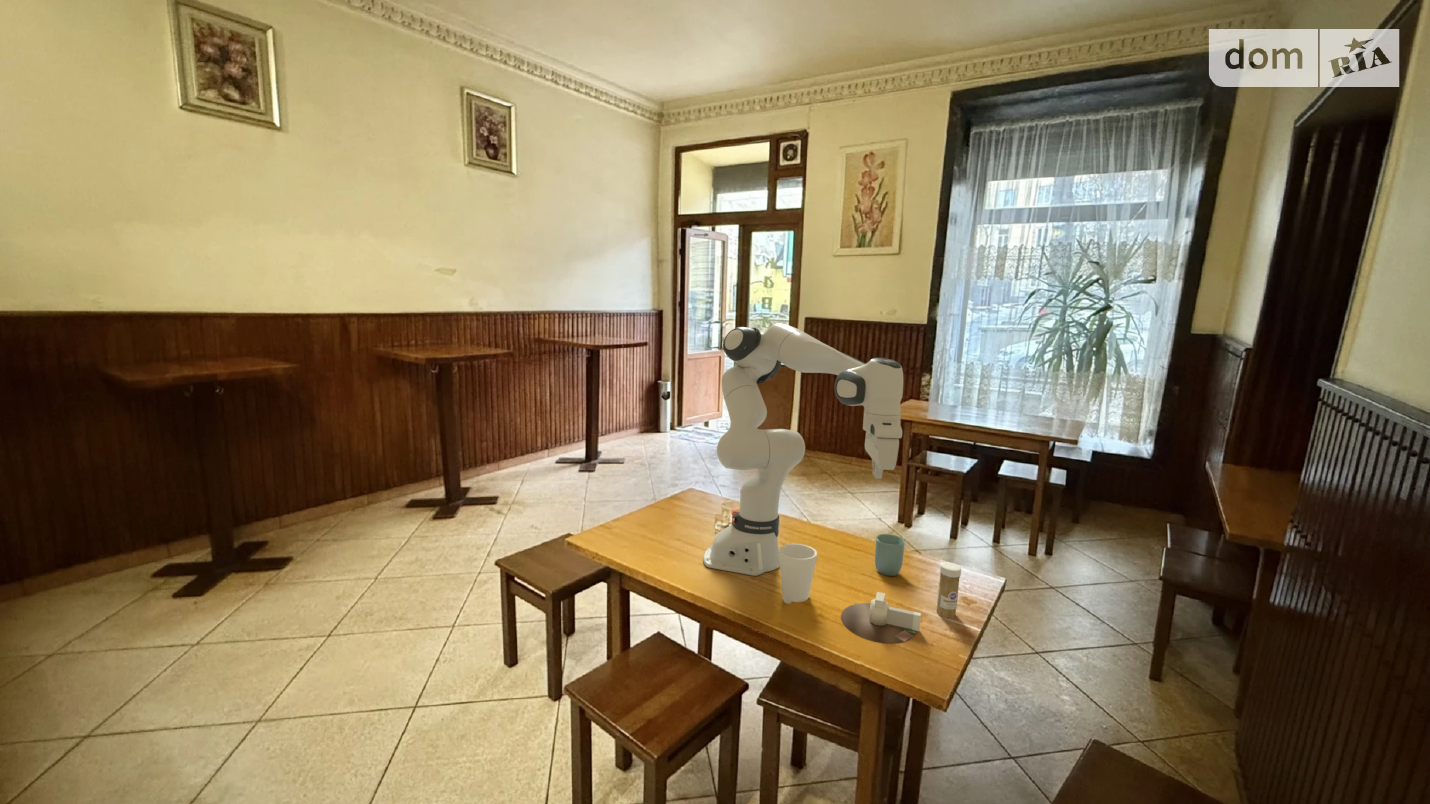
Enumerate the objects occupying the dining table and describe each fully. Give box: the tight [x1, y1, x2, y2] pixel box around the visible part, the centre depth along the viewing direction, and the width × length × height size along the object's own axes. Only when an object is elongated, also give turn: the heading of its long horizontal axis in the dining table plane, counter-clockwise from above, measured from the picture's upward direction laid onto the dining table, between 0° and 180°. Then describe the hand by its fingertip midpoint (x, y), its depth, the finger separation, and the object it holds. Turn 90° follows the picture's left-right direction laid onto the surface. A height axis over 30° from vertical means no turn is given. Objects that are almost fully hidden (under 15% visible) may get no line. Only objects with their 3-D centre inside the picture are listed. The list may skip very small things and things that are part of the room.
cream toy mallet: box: [869, 591, 922, 632], centre depth 129 cm, size 11×4×6 cm, turn 67°
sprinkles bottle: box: [936, 561, 962, 619], centre depth 134 cm, size 5×5×13 cm
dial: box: [840, 602, 918, 645], centre depth 131 cm, size 17×17×1 cm
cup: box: [874, 533, 906, 577], centre depth 157 cm, size 8×8×10 cm
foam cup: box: [779, 543, 818, 605], centre depth 141 cm, size 10×9×13 cm
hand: (877, 477), depth 142 cm, fingers closed
